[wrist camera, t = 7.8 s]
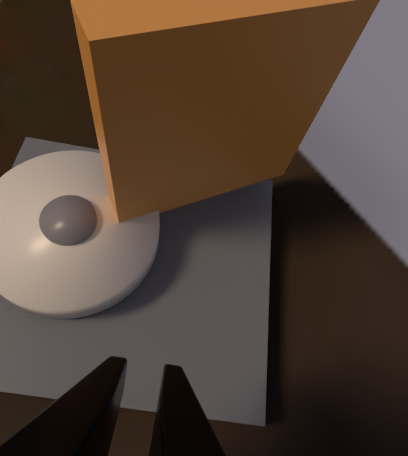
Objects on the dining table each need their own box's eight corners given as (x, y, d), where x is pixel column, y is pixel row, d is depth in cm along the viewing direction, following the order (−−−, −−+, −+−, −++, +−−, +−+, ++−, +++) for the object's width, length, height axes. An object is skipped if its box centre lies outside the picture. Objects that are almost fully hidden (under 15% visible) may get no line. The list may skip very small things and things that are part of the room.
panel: (257, 425, 16) (284, 428, 13) (-70, 382, 15) (-129, 374, 12) (266, 191, 22) (286, 153, 19) (32, 151, 21) (11, 103, 18)
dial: (2, 349, 15) (-251, 238, 5) (-30, 191, 18) (-227, -52, 8) (305, 233, 19) (451, 65, 10) (239, 123, 22) (302, -84, 13)
